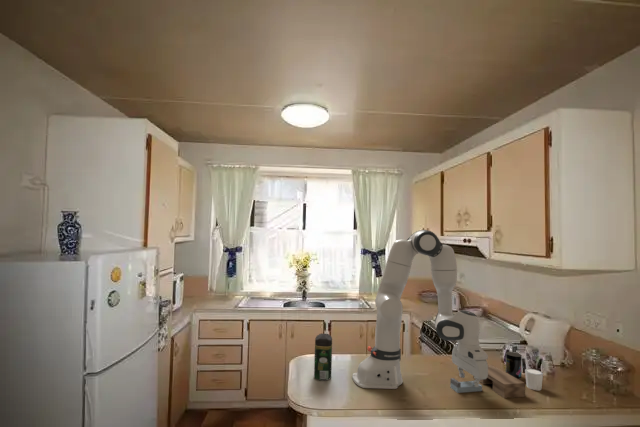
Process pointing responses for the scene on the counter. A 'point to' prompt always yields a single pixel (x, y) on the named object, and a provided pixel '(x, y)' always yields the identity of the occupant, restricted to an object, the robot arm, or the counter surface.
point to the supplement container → (514, 364)
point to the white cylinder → (534, 379)
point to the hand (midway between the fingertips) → (468, 381)
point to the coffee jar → (323, 357)
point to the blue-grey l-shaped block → (464, 386)
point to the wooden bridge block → (504, 383)
